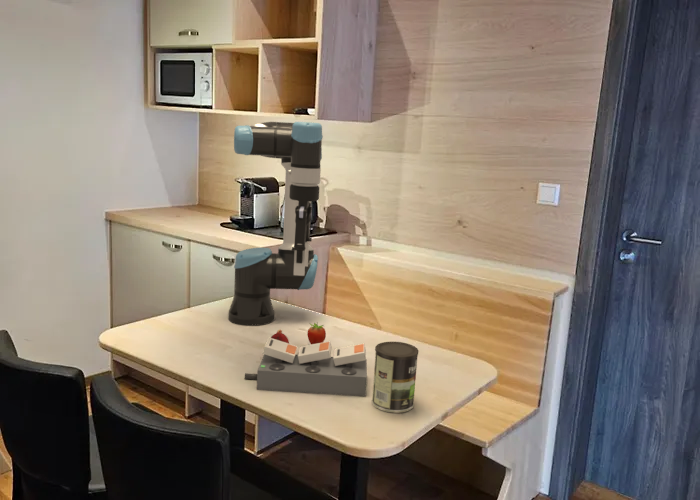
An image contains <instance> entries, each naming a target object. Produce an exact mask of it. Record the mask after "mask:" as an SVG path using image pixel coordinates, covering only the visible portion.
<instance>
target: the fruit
mask: <svg viewBox="0 0 700 500" xmlns="http://www.w3.org/2000/svg"><path fill="white" fill-rule="evenodd" d="M309 325H310V326H311V327H309V329H308V330H307V339H308V342H309V345H311V344H317V343H322V342H325V340H326V336H327V333H326V329H325V328H324V324H322V325H321V324H320V325H319V324H318V323H317V322H314V323H313V324H312V323H309Z"/></svg>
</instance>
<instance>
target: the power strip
mask: <svg viewBox="0 0 700 500" xmlns="http://www.w3.org/2000/svg"><path fill="white" fill-rule="evenodd" d="M333 358H334V356H331V357H330V358H327V359H322V360H317V361H311V362H306V363H301V364H300V363H299V359H298V354H295V357H294V360H293V363H290V362H287V361H284V360H281V359H278V358H274V357H271V356H268V355H265V354H263V356H262V358H261V361H260V364H259V366H258V368H257V373H250V372H249V373H247V372H245V373H244V379H245V380H256V390H261V391H262V390H263V391H273V392H274V391H276V392H290V393H291V392H292V393H307V394H309V393H310V394H311V393H312V394H322V395H323V394H324V395H326V394H327V395H339V396H340V395H341V396H355V397H366V395H367V384H368V382H367V381H368V371H367V370H368V364H367V363H368V362H367V361H368V360H367V358H366V360H364V361H359V362H353V363H348V364H343V365H337V366H335V364H334V359H333Z"/></svg>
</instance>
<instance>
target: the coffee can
mask: <svg viewBox="0 0 700 500" xmlns="http://www.w3.org/2000/svg"><path fill="white" fill-rule="evenodd" d="M374 350H375V351H374V352H375V353H374V372H373V383H372V384H373V387H372V399H371V404H372V405H373V407H375V408H376V409H378V410H380V411H382V412H386V413H392V414H393V413H394V414H398V413H399V414H400V413H406V412H409V411H411V410H412V409H414V405H415V403H414V402H415V391H416V389H415V388H416V380H417V379H416V377H417V368H418V356H419V348H417V347H416V346H414V345H412V344H410V343H406V342H401V341H384V342H379V343H377V344H376V345H375V349H374Z"/></svg>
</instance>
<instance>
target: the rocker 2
mask: <svg viewBox="0 0 700 500" xmlns="http://www.w3.org/2000/svg"><path fill="white" fill-rule="evenodd" d="M332 350H333V349H332V344H331V341H330V340H329V341H324V342H322V343H317V344H306V345H301V346H300V347H299V351H298V353H297V355H298V359H299V363H300V364H301V363H306V362H311V361H317V360H322V359H327V358H330V357H332V356H331V355H332Z"/></svg>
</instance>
